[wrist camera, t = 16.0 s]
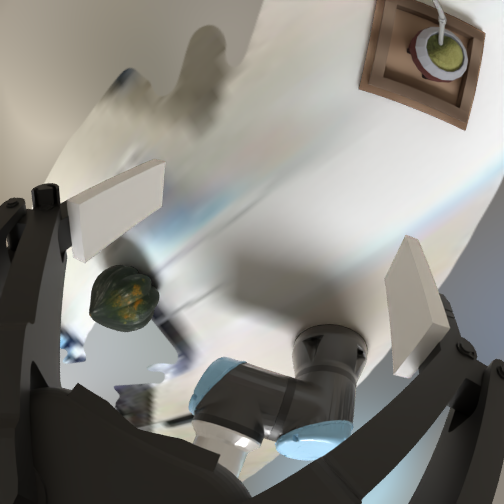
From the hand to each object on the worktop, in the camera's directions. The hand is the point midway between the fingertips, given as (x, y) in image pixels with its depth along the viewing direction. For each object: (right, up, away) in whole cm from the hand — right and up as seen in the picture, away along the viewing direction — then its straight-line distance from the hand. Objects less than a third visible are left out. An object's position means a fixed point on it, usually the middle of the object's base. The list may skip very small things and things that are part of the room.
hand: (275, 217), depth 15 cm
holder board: (+22, +24, +14) cm, 35 cm away
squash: (-27, -9, +50) cm, 58 cm away
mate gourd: (+21, +24, +13) cm, 35 cm away
